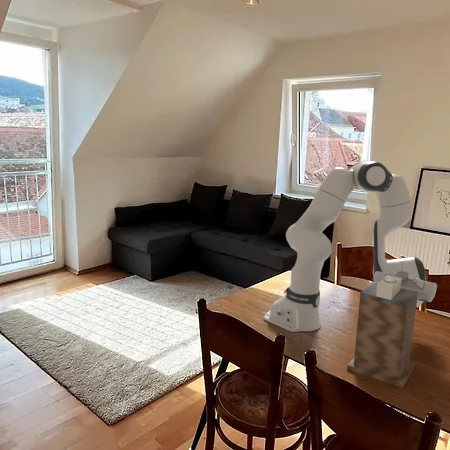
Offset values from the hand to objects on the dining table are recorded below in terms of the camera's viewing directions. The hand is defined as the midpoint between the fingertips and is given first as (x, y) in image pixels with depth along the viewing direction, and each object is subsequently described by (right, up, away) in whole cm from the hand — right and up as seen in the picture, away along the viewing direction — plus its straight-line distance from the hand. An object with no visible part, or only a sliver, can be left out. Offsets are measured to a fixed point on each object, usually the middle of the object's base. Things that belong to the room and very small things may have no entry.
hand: (400, 278), depth 143 cm
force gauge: (-5, -3, -6) cm, 9 cm away
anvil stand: (-8, -29, -4) cm, 30 cm away
